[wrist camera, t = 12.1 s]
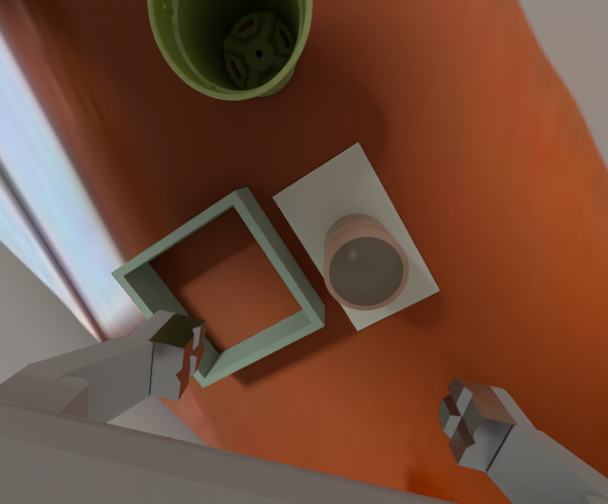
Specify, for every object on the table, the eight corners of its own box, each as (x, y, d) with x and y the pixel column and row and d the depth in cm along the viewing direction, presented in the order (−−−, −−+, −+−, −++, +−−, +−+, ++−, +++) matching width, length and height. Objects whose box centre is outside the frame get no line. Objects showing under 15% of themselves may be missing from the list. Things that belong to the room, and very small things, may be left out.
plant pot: (338, 80, 25) (342, 39, 17) (243, 139, 27) (206, 129, 19) (281, -39, 23) (255, -150, 15) (184, 35, 25) (113, -28, 17)
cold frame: (137, 259, 31) (110, 273, 28) (247, 186, 28) (234, 190, 24) (217, 362, 34) (203, 387, 30) (325, 306, 31) (324, 326, 27)
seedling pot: (313, 234, 29) (307, 258, 22) (369, 201, 28) (383, 214, 20) (344, 285, 30) (349, 324, 23) (400, 255, 29) (424, 287, 22)
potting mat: (272, 196, 28) (272, 197, 28) (358, 142, 26) (358, 141, 26) (357, 330, 32) (357, 331, 31) (439, 289, 30) (440, 290, 29)
